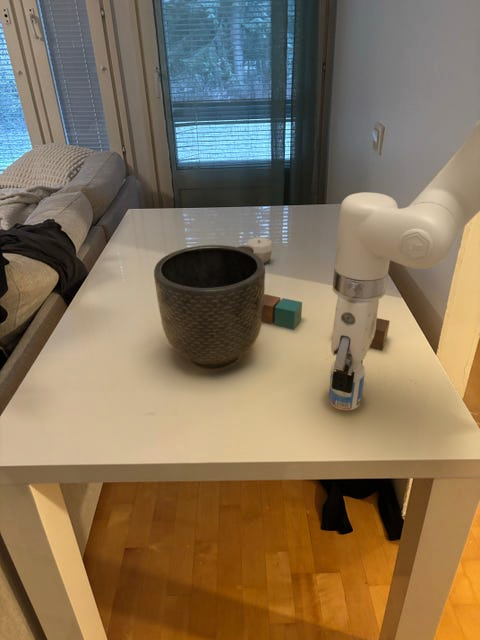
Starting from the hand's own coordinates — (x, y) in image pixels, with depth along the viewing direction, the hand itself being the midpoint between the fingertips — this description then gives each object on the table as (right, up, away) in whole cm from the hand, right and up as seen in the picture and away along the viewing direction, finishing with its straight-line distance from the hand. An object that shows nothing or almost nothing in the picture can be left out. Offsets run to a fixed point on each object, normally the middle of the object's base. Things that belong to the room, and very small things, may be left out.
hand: (346, 378), depth 77 cm
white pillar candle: (-12, +26, +53) cm, 60 cm away
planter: (-23, +3, +15) cm, 28 cm away
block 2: (-7, +9, +25) cm, 27 cm away
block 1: (-12, +10, +27) cm, 31 cm away
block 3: (+9, +5, +18) cm, 21 cm away
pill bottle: (0, -4, +3) cm, 5 cm away
